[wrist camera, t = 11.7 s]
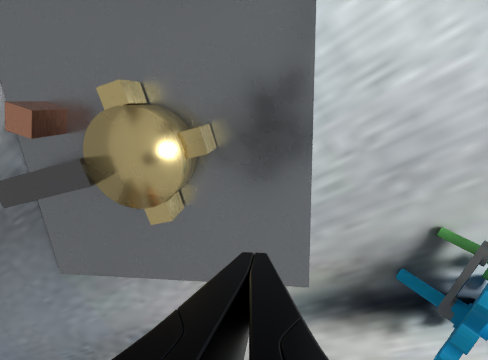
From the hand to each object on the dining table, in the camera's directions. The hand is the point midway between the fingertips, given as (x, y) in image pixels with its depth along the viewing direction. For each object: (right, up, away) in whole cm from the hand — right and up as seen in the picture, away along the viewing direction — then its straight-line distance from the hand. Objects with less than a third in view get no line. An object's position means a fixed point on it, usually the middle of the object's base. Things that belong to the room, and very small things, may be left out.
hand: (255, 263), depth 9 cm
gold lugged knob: (-10, +4, +12) cm, 16 cm away
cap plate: (-7, +5, +12) cm, 15 cm away
